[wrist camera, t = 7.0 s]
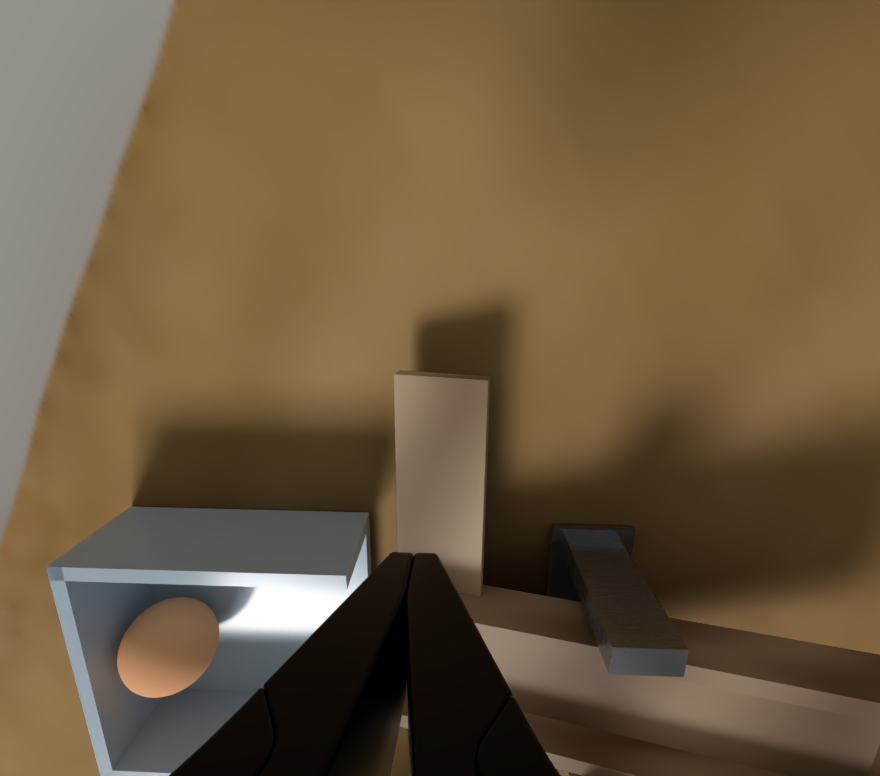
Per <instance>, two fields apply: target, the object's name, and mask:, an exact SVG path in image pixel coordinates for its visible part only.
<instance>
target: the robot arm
mask: <svg viewBox="0 0 880 776" xmlns="http://www.w3.org/2000/svg"><path fill="white" fill-rule="evenodd" d="M406 689H407V705H408V743H409V776H560V774H559V773H558V771H557V770H556V768H555V766H554V765H553V763H552V762H551V760H550V759H549V757H548V755H547V754H546V752H545V750H544V749H543V747H542V745H541V743H540V742H539V740H538V738H537V736H536V735H535V733H534V731H533V730H532V728H531V726H530V724H529V723H528V721H527V719H526V717H525V715H524V714H523V712H522V710H521V708H520V706H519V704H518V702H517V701H516V699H515V698H513V694H512V692H511V690H510V688H509V686H508V684H507V683H506V681H505V679H504V677H503V675H502V673H501V671H500V670H499V668H498V666H497V664H496V662H495V660H494V659H493V657H492V655H491V653H490V651H489V649H488V647H487V646H486V644H485V642H484V640H483V638H482V636H481V634H480V633H479V631H478V629H477V627H476V625H475V623H474V621H473V620H472V618H471V616H470V614H469V612H468V610H467V609H466V607H465V605H464V603H463V601H462V599H461V597H460V596H459V594H458V592H457V590H456V588H455V586H454V584H453V583H452V581H451V579H450V577H449V575H448V573H447V572H446V570H445V568H444V566H443V564H442V562H441V560H440V559H439V557H438V555H437V554H435V553H416V554H415V555H413V554H412V553H410V552H392V553H391V554H389V555H388V556H387V558H386V559H385V560H384V561H383V562H382V563H381V564H380V565H379V566H378V567H377V568H376V569H375V570H374V571H373V572H372V573H371V574H370V575H369V576H368V577H367V578H366V579H365V580H364V581H363V582H362V583H361V584H360V585H359V586H358V587H357V588H356V589H355V590H354V592H353V593H352V594H351V595H350V596H349V597H348V598H347V599H346V600H345V601H344V602H343V603H342V604H341V605H340V606H339V607H338V608H337V609H336V610H335V611H334V612H333V613H332V614H331V615H330V616H329V617H328V618H327V619H326V620H325V621H324V622H323V623H322V624H321V626H320V627H319V628H318V629H317V630H316V631H315V632H314V633H313V634H312V635H311V636H310V637H309V638H308V639H307V640H306V641H305V642H304V643H303V644H302V645H301V646H300V647H299V648H298V649H297V650H296V651H295V652H294V653H293V654H292V655H291V656H290V657H289V658H288V660H287V661H286V662H285V663H284V664H283V665H282V666H281V667H280V668H279V669H278V670H277V671H276V672H275V673H274V674H273V675H272V676H271V677H270V678H269V679H268V680H267V681H266V682H265V683H264V685H263V688H259V689H258V690H257V691H256V692H255V693H254V694H253V695H252V696H251V697H250V698H249V699H248V700H247V701H246V702H245V704H244V705H243V706H242V707H241V708H240V709H239V710H238V711H237V712H236V713H235V714H234V715H233V716H232V717H231V718H230V719H228V720H227V721H226V722H225V723H224V724H223V725H222V726H221V727H220V728H219V729H218V730H217V731H216V732H215V733H214V734H213V735H212V736H211V737H210V738H209V739H208V740H207V741H206V742H205V743H204V744H203V745H202V746H201V747H200V748H199V749H197V750H196V751H195V752H194V753H193V754H192V755H191V756H190V757H189V758H188V759H186V760H185V761H184V762H183V763H182V764H181V765H180V766H179V767H178V768H177V769H175V770H174V771H173V772H172V773H171V774H170V775H169V776H390V772H391V767H392V762H393V757H394V752H395V747H396V742H397V737H398V732H399V727H400V722H401V717H402V712H403V707H404V701H405V695H406Z"/></svg>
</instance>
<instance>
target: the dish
mask: <svg viewBox="0 0 880 776" xmlns="http://www.w3.org/2000/svg"><path fill="white" fill-rule="evenodd" d="M46 569H47V573H48V577H49V581H50V585H51V589H52V592H53V596H54V600H55V604H56V608H57V612H58V615H59V619H60V623H61V627H62V631H63V635H64V638H65V642H66V646H67V650H68V654H69V657H70V661H71V665H72V669H73V673H74V677H75V680H76V684H77V688H78V692H79V696H80V700H81V703H82V707H83V711H84V715H85V719H86V722H87V726H88V730H89V734H90V738H91V742H92V745H93V749H94V753H95V757H96V761H97V765H98V768H99V772H100V776H169V775H170V774H171V773H172V772H173V771H174V770H175V769H177V768H178V767H179V766H180V765H181V764H182V763H183V762H184V761H185V760H186V759H188V758H189V757H190V756H191V755H192V754H193V753H194V752H195V751H196V750H197V749H199V748H200V747H201V746H202V745H203V744H204V743H205V742H206V741H207V740H208V739H209V738H210V737H211V736H212V735H213V734H214V733H215V732H216V731H217V730H218V729H219V728H220V727H221V726H222V725H223V724H224V723H225V722H226V721H227V720H228V719H230V718H231V717H232V716H233V715H234V714H235V713H236V712H237V711H238V710H239V709H240V708H241V707H242V706H243V705H244V704H245V702H246V701H247V700H248V699H249V698H250V697H251V696H252V695H253V694H254V693H255V692H256V691H257V690H258V689H259V688H263V685H264V683H265V682H266V681H267V680H268V679H269V678H270V677H271V676H272V675H273V674H274V673H275V672H276V671H277V670H278V669H279V668H280V667H281V666H282V665H283V664H284V663H285V662H286V661H287V660H288V658H289V657H290V656H291V655H292V654H293V653H294V652H295V651H296V650H297V649H298V648H299V647H300V646H301V645H302V644H303V643H304V642H305V641H306V640H307V639H308V638H309V637H310V636H311V635H312V634H313V633H314V632H315V631H316V630H317V629H318V628H319V627H320V626H321V624H322V623H323V622H324V621H325V620H326V619H327V618H328V617H329V616H330V615H331V614H332V613H333V612H334V611H335V610H336V609H337V608H338V607H339V606H340V605H341V604H342V603H343V602H344V601H345V600H346V599H347V598H348V597H349V596H350V595H351V594H352V593H353V592H354V590H355V589H356V588H357V587H358V586H359V585H360V584H361V583H362V582H363V581H364V580H365V579H366V578H367V577H368V576H369V575H370V574H371V573H372V571H371V545H370V520H369V513H368V512H328V511H288V510H248V509H208V508H167V507H130V508H128V509H127V510H125V511H124V512H123V513H121V514H120V515H118V516H117V517H115V518H114V519H113V520H111V521H110V522H108V523H107V524H106V525H104V526H103V527H101V528H100V529H99V530H97V531H96V532H94V533H93V534H91V535H90V536H89V537H87V538H86V539H84V540H83V541H82V542H80V543H79V544H77V545H76V546H75V547H73V548H72V549H70V550H69V551H67V552H66V553H65V554H63V555H62V556H60V557H59V558H58V559H56V560H55V561H53V562H52V563H51V564H49V565H48V566H46ZM175 597H190V598H194V599H197V600H200V601H202V602H203V603H205V604H206V605H207V606H208V607H210V609H211V610H212V611H213V612H214V614H215V616H216V618H217V621H218V625H219V642H218V647H217V650H216V653H215V655H214V658H213V659H212V661H211V663H210V665H209V666H208V668H207V669H206V670H205V672H204V673H203V674H202V675H201V676H200V677H199V678H198V679H197V680H196V681H195V682H194V683H192V684H191V685H190V686H188V687H187V688H185V689H183V690H181V691H180V692H177V693H175V694H173V695H169V696H165V697H159V698H150V697H144V696H141V695H138V694H136V693H134V692H132V691H131V690H129V689H128V688H127V687H126V685H125V684H124V683H123V681H122V680H121V677H120V675H119V672H118V666H117V656H118V650H119V646H120V643H121V641H122V638H123V636H124V634H125V632H126V631H127V629H128V628H129V626H130V625H131V624H132V622H133V621H134V620H135V619H136V618H137V617H138V616H139V615H140V614H141V613H142V612H144V611H145V610H146V609H148V608H149V607H151V606H152V605H154V604H156V603H158V602H161V601H163V600H166V599H170V598H175Z"/></svg>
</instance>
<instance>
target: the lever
mask: <svg viewBox="0 0 880 776" xmlns="http://www.w3.org/2000/svg"><path fill="white" fill-rule="evenodd" d="M490 380H491V376H482V375H466V374H450V373H434V372H417V371H401V370H400V371H398V372H397V373H395V374H394V406H395V454H396V503H397V551H398V552H410V553H412V554H413V555H415V554H416V553H435V554H437V555H438V557H439V559H440V560H441V562H442V564H443V566H444V568H445V570H446V572H447V573H448V575H449V577H450V579H451V581H452V583H453V584H454V586H455V588H456V590H457V592H458V594H459V596H460V597H461V599H462V601H463V603H464V605H465V607H466V609H467V610H468V612H469V614H470V616H471V618H472V620H473V621H474V623H475V625H476V627H477V629H478V631H479V633H480V634H481V636H482V638H483V640H484V642H485V644H486V646H487V647H488V649H489V651H490V653H491V655H492V657H493V659H494V660H495V662H496V664H497V666H498V668H499V670H500V671H501V673H502V675H503V677H504V679H505V681H506V683H507V684H508V686H509V688H510V690H511V692H512V694H513V698H515V699H516V701H517V702H518V704H519V706H520V708H521V710H522V712H523V714H524V715H525V717H526V719H527V721H528V723H529V724H530V726H531V728H532V730H533V731H534V733H535V735H536V736H537V738H538V740H539V742H540V743H541V745H542V747H543V749H544V750H545V752H546V754H547V755H548V757H549V759H550V760H551V762H552V763H553V765H554V766H555V768H556V769H559V770H563V771H567V772H571V773H574V774H578V775H582V776H880V655H878V654H872V653H866V652H861V651H855V650H849V649H844V648H838V647H832V646H827V645H821V644H815V643H810V642H804V641H798V640H793V639H787V638H781V637H776V636H770V635H764V634H759V633H753V632H747V631H742V630H736V629H730V628H725V627H719V626H713V625H708V624H702V623H696V622H691V621H685V620H679V619H674V618H669V619H670V621H671V622H672V624H673V625H674V627H675V629H676V630H677V632H678V633H679V635H680V637H681V638H682V640H683V641H684V643H685V645H686V646H687V648H688V649H689V652H688V657H687V663H686V668H685V673H684V677H667V676H639V675H612V674H608V671H607V669H606V666H605V663H604V661H603V658H602V656H601V653H600V650H599V648H598V645H597V643H596V640H595V637H594V635H593V632H592V630H591V627H590V624H589V622H588V619H587V617H586V614H585V611H584V609H583V606H582V604H581V602H577V601H572V600H566V599H560V598H555V597H549V596H543V595H538V594H532V593H526V592H521V591H515V590H509V589H504V588H498V587H492V586H487V585H483V565H484V539H485V512H486V486H487V460H488V433H489V407H490ZM400 727H402V728H406V729H408V705H407V689H406V695H405V701H404V707H403V712H402V717H401V722H400Z"/></svg>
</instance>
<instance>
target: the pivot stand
mask: <svg viewBox="0 0 880 776" xmlns="http://www.w3.org/2000/svg"><path fill="white" fill-rule="evenodd" d="M634 532H635V530H634V529H633V528H632V526H606V525H567V524H552V528H551V541H550V553H549V565H548V577H547V589H546V596H549V597H555V598H560V599H566V600H572V601H577V602H581V604H582V606H583V609H584V611H585V614H586V617H587V619H588V622H589V624H590V627H591V630H592V632H593V635H594V637H595V640H596V643H597V645H598V648H599V650H600V653H601V656H602V658H603V661H604V663H605V666H606V669H607V671H608V674H612V675H639V676H667V677H684V673H685V668H686V663H687V657H688V652H689V649H688V648H687V646H686V645H685V643H684V641H683V640H682V638H681V637H680V635H679V633H678V632H677V630H676V629H675V627H674V625H673V624H672V622H671V621H670V619H669V617H668V616H667V614H666V613H665V611H664V609H663V608H662V606H661V605H660V603H659V601H658V600H657V598H656V597H655V595H654V593H653V592H652V590H651V589H650V587H649V585H648V584H647V582H646V581H645V579H644V577H643V576H642V574H641V573H640V571H639V569H638V568H637V566H636V565H635V563H634V561H633V560H632V558H631V554H632V547H633V540H634ZM569 775H570V776H582V775H578V774H574V773H571V772H569Z"/></svg>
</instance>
